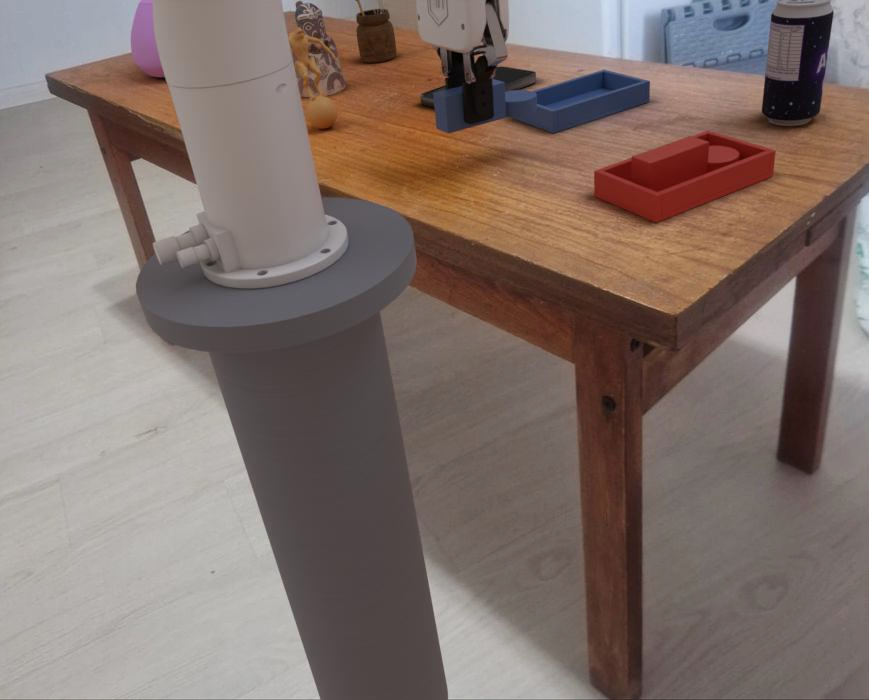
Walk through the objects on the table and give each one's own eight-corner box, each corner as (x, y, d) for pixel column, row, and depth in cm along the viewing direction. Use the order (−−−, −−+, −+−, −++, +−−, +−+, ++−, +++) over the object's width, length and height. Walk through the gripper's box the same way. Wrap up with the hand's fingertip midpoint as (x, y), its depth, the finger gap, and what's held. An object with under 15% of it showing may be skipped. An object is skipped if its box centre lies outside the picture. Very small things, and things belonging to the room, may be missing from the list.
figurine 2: (303, 140, 100) (282, 39, 94) (281, 131, 105) (259, 33, 98) (360, 121, 104) (343, 22, 97) (336, 113, 108) (318, 18, 102)
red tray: (656, 223, 70) (656, 195, 69) (594, 196, 76) (593, 170, 75) (773, 176, 75) (776, 150, 74) (706, 154, 81) (707, 130, 80)
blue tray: (553, 133, 92) (552, 111, 90) (511, 118, 98) (510, 97, 97) (649, 102, 97) (650, 80, 96) (604, 89, 103) (604, 69, 102)
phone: (416, 95, 106) (498, 65, 114) (417, 104, 107) (499, 73, 114) (456, 104, 101) (540, 72, 109) (457, 113, 102) (540, 80, 109)
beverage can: (819, 128, 84) (836, 4, 77) (759, 128, 86) (772, 7, 79) (818, 110, 88) (834, -9, 81) (761, 110, 90) (773, -6, 83)
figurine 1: (303, 101, 115) (284, 11, 109) (292, 90, 121) (273, 4, 114) (351, 90, 117) (335, 0, 110) (337, 79, 123) (322, -6, 116)
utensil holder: (383, 64, 127) (371, -19, 121) (351, 63, 130) (338, -18, 124) (404, 54, 131) (394, -27, 125) (373, 53, 134) (361, -26, 128)
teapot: (287, 56, 140) (269, -31, 132) (170, 91, 129) (143, -3, 121) (227, 43, 155) (208, -36, 147) (118, 73, 144) (91, -11, 136)
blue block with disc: (453, 136, 80) (450, 99, 78) (431, 126, 84) (427, 91, 82) (545, 110, 85) (544, 74, 83) (521, 102, 88) (519, 68, 86)
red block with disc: (656, 205, 72) (658, 166, 70) (623, 191, 75) (623, 153, 73) (748, 169, 76) (752, 131, 74) (712, 158, 79) (715, 121, 77)
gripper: (379, -82, 78) (401, 110, 88) (469, -80, 66) (483, 144, 75) (447, -92, 81) (461, 96, 91) (544, -91, 69) (548, 125, 78)
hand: (470, 116), depth 83 cm, fingers closed on blue block with disc, 2 cm apart
